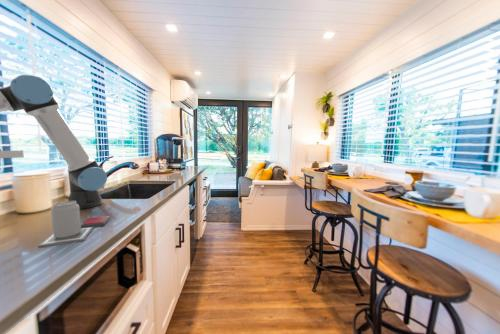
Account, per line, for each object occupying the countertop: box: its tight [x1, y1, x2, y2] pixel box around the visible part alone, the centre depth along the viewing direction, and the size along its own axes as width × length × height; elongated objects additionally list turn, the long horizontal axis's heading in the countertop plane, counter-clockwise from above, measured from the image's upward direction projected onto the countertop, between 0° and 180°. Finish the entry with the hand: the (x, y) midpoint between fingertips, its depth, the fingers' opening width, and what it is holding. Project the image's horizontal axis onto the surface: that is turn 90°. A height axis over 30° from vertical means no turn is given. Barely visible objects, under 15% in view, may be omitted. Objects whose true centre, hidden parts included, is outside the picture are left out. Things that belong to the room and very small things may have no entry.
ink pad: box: [81, 215, 110, 228], centre depth 90 cm, size 9×8×2 cm
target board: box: [38, 227, 95, 248], centre depth 77 cm, size 12×12×1 cm
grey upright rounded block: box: [50, 200, 82, 239], centre depth 76 cm, size 8×8×12 cm
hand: (12, 154), depth 76 cm, fingers open, 13 cm apart
